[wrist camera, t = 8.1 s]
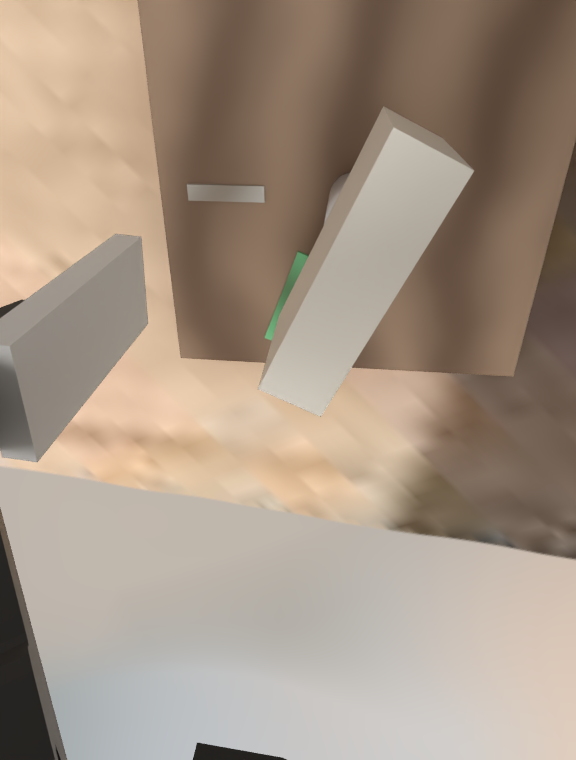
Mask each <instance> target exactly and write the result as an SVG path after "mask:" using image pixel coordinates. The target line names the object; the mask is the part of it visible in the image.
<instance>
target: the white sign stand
mask: <svg viewBox="0 0 576 760" xmlns="http://www.w3.org/2000/svg"><path fill="white" fill-rule="evenodd" d="M473 172H474V170H473V169H472V168H471V167H470V166H469V165H468V164H467V163H466V161H465V160H464V159H463V158H462V157H461V156H460V155H459V154H458V153H457V152H456V151H455V150H454V149H453V148H452V147H451V146H450V145H449V144H448V143H447V142H446V141H445V140H444V139H443V138H441V137H439V136H438V135H436V134H434V133H432V132H430V131H428V130H426V129H425V128H423V127H421V126H419V125H417V124H415V123H413V122H412V121H410V120H408V119H406V118H404V117H402V116H400V115H399V114H397V113H395V112H393V111H391V110H389V109H388V108H386V107H384V106H383V108H382V110H381V112H380V114H379V116H378V118H377V120H376V122H375V124H374V126H373V128H372V130H371V132H370V134H369V136H368V138H367V140H366V142H365V144H364V146H363V148H362V150H361V152H360V154H359V156H358V158H357V160H356V162H355V164H354V166H353V168H352V170H351V172H350V173H346V174H344V175H342V176H340V177H339V178H338V179H337V180H336V181H335V182H334V184H333V185H332V187H331V190H330V194H329V199H328V205H327V210H326V216H325V221H324V226H323V228H322V230H321V232H320V234H319V236H318V238H317V240H316V242H315V244H314V246H313V248H312V250H311V252H310V254H309V256H308V258H307V260H306V262H305V264H304V266H303V268H302V270H301V272H300V275H299V277H298V279H297V281H296V283H295V285H294V287H293V289H292V291H291V293H290V295H289V297H288V299H287V301H286V303H285V305H284V307H283V309H282V311H281V313H280V315H279V318H278V321H277V325H276V328H275V331H274V335H273V338H272V342H271V345H270V349H269V352H268V356H267V359H266V363H265V366H264V370H263V373H262V376H261V380H260V383H259V387H258V389H259V390H261V391H263V392H265V393H268V394H270V395H272V396H274V397H277V398H279V399H281V400H283V401H286V402H288V403H290V404H293V405H295V406H297V407H299V408H302V409H304V410H306V411H308V412H311V413H313V414H315V415H317V416H320V417H321V416H322V414H323V412H324V411H325V409H326V408H327V406H328V404H329V403H330V401H331V400H332V398H333V396H334V395H335V393H336V392H337V390H338V388H339V387H340V385H341V384H342V382H343V380H344V379H345V377H346V376H347V374H348V372H349V371H350V369H351V368H352V366H353V364H354V363H355V361H356V360H357V358H358V356H359V355H360V353H361V352H362V350H363V348H364V347H365V345H366V344H367V342H368V340H369V339H370V337H371V335H372V334H373V332H374V331H375V329H376V327H377V326H378V324H379V323H380V321H381V319H382V318H383V316H384V315H385V313H386V311H387V310H388V308H389V307H390V305H391V303H392V302H393V300H394V299H395V297H396V295H397V294H398V292H399V291H400V289H401V287H402V286H403V284H404V283H405V281H406V279H407V278H408V276H409V275H410V273H411V271H412V270H413V268H414V267H415V265H416V263H417V262H418V260H419V259H420V257H421V255H422V254H423V252H424V251H425V249H426V247H427V246H428V244H429V243H430V241H431V239H432V238H433V236H434V235H435V233H436V231H437V230H438V228H439V227H440V225H441V223H442V222H443V220H444V219H445V217H446V215H447V214H448V212H449V211H450V209H451V207H452V206H453V204H454V203H455V201H456V199H457V198H458V196H459V195H460V193H461V191H462V190H463V188H464V187H465V185H466V183H467V182H468V180H469V179H470V177H471V175H472V174H473Z"/></svg>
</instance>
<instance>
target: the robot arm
mask: <svg viewBox="0 0 576 760" xmlns="http://www.w3.org/2000/svg"><path fill="white" fill-rule="evenodd" d="M147 324H148V315H147V302H146V289H145V276H144V264H143V251H142V238H141V237H139V236H130V235H121V234H115V235H113V236H112V237H110V238H109V239H108V240H106V241H105V242H104V243H102V244H101V245H100V246H98V247H97V248H95V249H94V250H93V251H91V252H90V253H89V254H87V255H86V256H85V257H83V258H82V259H80V260H79V261H78V262H76V263H75V264H74V265H72V266H71V267H70V268H68V269H67V270H65V271H64V272H63V273H61V274H60V275H59V276H57V277H56V278H55V279H53V280H52V281H50V282H49V283H48V284H46V285H45V286H44V287H42V288H41V289H40V290H38V291H37V292H35V293H34V294H33V295H31V296H30V297H29V298H27V299H26V300H20V301H17V302H14V303H12V304H9V305H6V306H4V307H1V308H0V451H1V454H2V457H4V458H11V459H18V460H25V461H32V462H38V461H39V460H40V458H41V457H42V456H43V455H44V453H45V452H46V451H47V450H48V448H49V447H50V446H51V445H52V443H53V442H54V441H55V440H56V438H57V437H58V436H59V435H60V433H61V432H62V431H63V430H64V428H65V427H66V426H67V425H68V423H69V422H70V421H71V420H72V418H73V417H74V416H75V415H76V413H77V412H78V411H79V410H80V408H81V407H82V406H83V405H84V403H85V402H86V401H87V400H88V398H89V397H90V396H91V395H92V393H93V392H94V391H95V390H96V388H97V387H98V386H99V384H100V383H101V382H102V381H103V379H104V378H105V377H106V376H107V374H108V373H109V372H110V371H111V369H112V368H113V367H114V366H115V364H116V363H117V362H118V361H119V359H120V358H121V357H122V356H123V354H124V353H125V352H126V351H127V349H128V348H129V347H130V346H131V344H132V343H133V342H134V341H135V339H136V338H137V337H138V336H139V334H140V333H141V332H142V331H143V329H144V328H145V327H146V326H147ZM0 760H67V758H66V754H65V750H64V746H63V743H62V739H61V735H60V731H59V727H58V724H57V720H56V716H55V712H54V709H53V705H52V701H51V697H50V694H49V690H48V686H47V682H46V678H45V675H44V671H43V667H42V663H41V660H40V657H39V652H38V649H37V645H36V641H35V637H34V633H33V629H32V626H31V622H30V618H29V615H28V611H27V607H26V603H25V599H24V595H23V592H22V588H21V584H20V580H19V577H18V573H17V569H16V565H15V561H14V558H13V554H12V550H11V546H10V543H9V539H8V535H7V531H6V528H5V524H4V520H3V516H2V512H1V509H0ZM193 760H286V759H284V758H281V757H274V756H269V755H264V754H258V753H252V752H247V751H241V750H235V749H230V748H225V747H219V746H213V745H207V744H202V743H197V745H196V750H195V754H194V758H193Z"/></svg>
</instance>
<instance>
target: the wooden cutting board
mask: <svg viewBox="0 0 576 760" xmlns="http://www.w3.org/2000/svg"><path fill="white" fill-rule="evenodd" d="M138 8H139V16H140V24H141V33H142V41H143V49H144V57H145V66H146V74H147V82H148V91H149V99H150V107H151V115H152V124H153V132H154V140H155V149H156V157H157V165H158V173H159V182H160V190H161V198H162V207H163V215H164V223H165V231H166V240H167V248H168V256H169V265H170V273H171V281H172V289H173V298H174V306H175V314H176V323H177V331H178V339H179V347H180V356H181V358H191V359H209V360H227V361H245V362H263V363H266V359H267V356H268V352H269V349H270V345H271V342H272V338H273V335H274V331H275V328H276V325H277V321H278V318H279V315H280V313H281V311H282V309H283V307H284V305H285V303H286V301H287V299H288V297H289V295H290V293H291V291H292V289H293V287H294V285H295V283H296V281H297V279H298V277H299V275H300V272H301V270H302V268H303V266H304V264H305V262H306V260H307V258H308V256H309V254H310V252H311V250H312V248H313V246H314V244H315V242H316V240H317V238H318V236H319V234H320V232H321V230H322V228H323V226H324V221H325V216H326V210H327V205H328V199H329V194H330V190H331V187H332V185H333V184H334V182H335V181H336V180H337V179H338V178H339V177H340V176H342V175H344V174H346V173H350V172H351V170H352V168H353V166H354V164H355V162H356V160H357V158H358V156H359V154H360V152H361V150H362V148H363V146H364V144H365V142H366V140H367V138H368V136H369V134H370V132H371V130H372V128H373V126H374V124H375V122H376V120H377V118H378V116H379V114H380V112H381V110H382V108H383V106H384V107H386V108H388V109H389V110H391V111H393V112H395V113H397V114H399V115H400V116H402V117H404V118H406V119H408V120H410V121H412V122H413V123H415V124H417V125H419V126H421V127H423V128H425V129H426V130H428V131H430V132H432V133H434V134H436V135H438V136H439V137H441V138H443V139H444V140H445V141H446V142H447V143H448V144H449V145H450V146H451V147H452V148H453V149H454V150H455V151H456V152H457V153H458V154H459V155H460V156H461V157H462V158H463V159H464V160H465V161H466V163H467V164H468V165H469V166H470V167H471V168H472V169H473V170H474V172H473V174H472V175H471V177H470V179H469V180H468V182H467V183H466V185H465V187H464V188H463V190H462V191H461V193H460V195H459V196H458V198H457V199H456V201H455V203H454V204H453V206H452V207H451V209H450V211H449V212H448V214H447V215H446V217H445V219H444V220H443V222H442V223H441V225H440V227H439V228H438V230H437V231H436V233H435V235H434V236H433V238H432V239H431V241H430V243H429V244H428V246H427V247H426V249H425V251H424V252H423V254H422V255H421V257H420V259H419V260H418V262H417V263H416V265H415V267H414V268H413V270H412V271H411V273H410V275H409V276H408V278H407V279H406V281H405V283H404V284H403V286H402V287H401V289H400V291H399V292H398V294H397V295H396V297H395V299H394V300H393V302H392V303H391V305H390V307H389V308H388V310H387V311H386V313H385V315H384V316H383V318H382V319H381V321H380V323H379V324H378V326H377V327H376V329H375V331H374V332H373V334H372V335H371V337H370V339H369V340H368V342H367V344H366V345H365V347H364V348H363V350H362V352H361V353H360V355H359V356H358V358H357V360H356V361H355V363H354V364H353V366H352V368H370V369H388V370H406V371H424V372H442V373H460V374H478V375H496V376H514V372H515V368H516V364H517V360H518V357H519V353H520V349H521V345H522V341H523V338H524V334H525V330H526V326H527V322H528V319H529V315H530V311H531V307H532V304H533V300H534V296H535V292H536V288H537V285H538V281H539V277H540V273H541V269H542V266H543V262H544V258H545V254H546V250H547V247H548V243H549V239H550V235H551V232H552V228H553V224H554V220H555V216H556V213H557V209H558V205H559V201H560V197H561V194H562V190H563V186H564V182H565V178H566V175H567V171H568V167H569V163H570V160H571V156H572V152H573V148H574V144H575V141H576V0H138Z"/></svg>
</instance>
